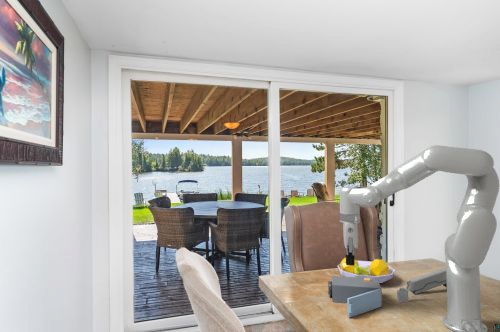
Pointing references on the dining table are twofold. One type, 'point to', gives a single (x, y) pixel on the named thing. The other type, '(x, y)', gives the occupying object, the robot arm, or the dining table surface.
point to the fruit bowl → (367, 270)
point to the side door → (364, 302)
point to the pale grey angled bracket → (404, 292)
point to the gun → (429, 281)
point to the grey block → (350, 287)
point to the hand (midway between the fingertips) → (350, 264)
